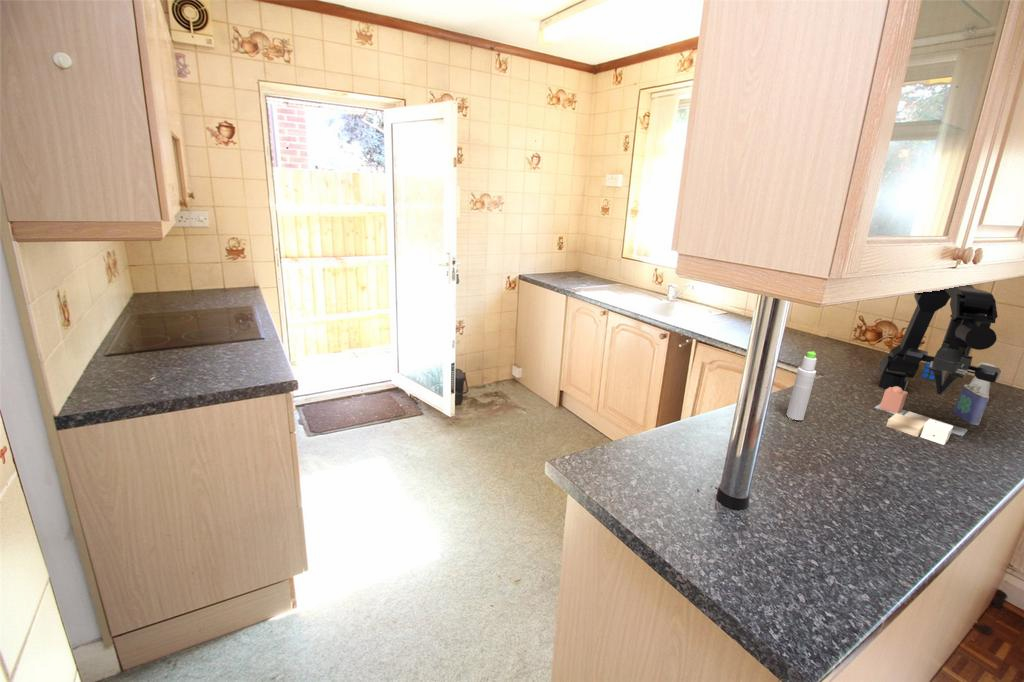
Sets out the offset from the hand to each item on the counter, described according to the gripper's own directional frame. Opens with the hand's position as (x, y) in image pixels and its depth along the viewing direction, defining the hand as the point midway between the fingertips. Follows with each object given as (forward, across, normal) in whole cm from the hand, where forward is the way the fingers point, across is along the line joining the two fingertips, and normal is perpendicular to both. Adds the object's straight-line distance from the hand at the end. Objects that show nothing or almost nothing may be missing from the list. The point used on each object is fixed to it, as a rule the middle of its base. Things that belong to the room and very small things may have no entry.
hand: (939, 394), depth 129 cm
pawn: (+11, -10, +9) cm, 18 cm away
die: (+10, 0, -3) cm, 10 cm away
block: (+12, -4, -3) cm, 13 cm away
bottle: (+12, -25, -23) cm, 36 cm away
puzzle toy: (+12, -11, +61) cm, 63 cm away
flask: (+12, +4, +23) cm, 26 cm away
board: (+12, -4, +9) cm, 15 cm away
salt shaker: (+12, +3, +46) cm, 48 cm away
